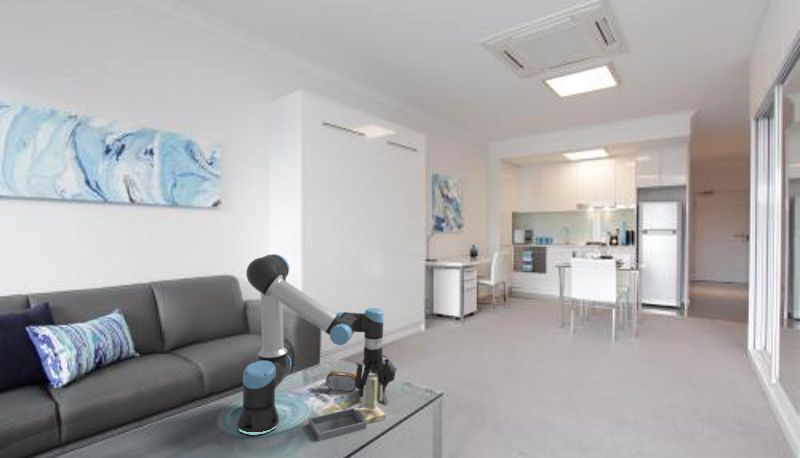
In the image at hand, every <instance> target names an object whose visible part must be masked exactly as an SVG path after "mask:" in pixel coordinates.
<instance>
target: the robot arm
mask: <svg viewBox="0 0 800 458" xmlns="http://www.w3.org/2000/svg"><path fill="white" fill-rule="evenodd" d="M289 272H290V264H289V262H288V260H287V259H286V258H285V257H284V256H282V255H280V254H276V253H275V254H267V255H264V256H262V257H257V258H255V259H254V260H252V261H251V262H250V263H249V264H248V266H247V269H246V279H247V281H248V283H249V284H250V285H251V286H252V287H253V288H254V289H255V290H256V291H258V292H259V293H260V313H261V315H260V316H261V317H260V319H261V320H260V321H261V349H260V351H259V352H258V354H257V355H258V358H257V359H258V361H255V362H251V363H250V364H248V365H247V366H246V367H245V368H244V370H243V376H242V408H241V412H240V415H239V417H238V421H237V429H238V428H239V429H241V430H243V431H246V432H263V431H267V430H270V429H272V428H273V427H275V426H276V425H277V424H278V423H279V424H280V416H279V412H278V410H277V407H276V405H275V400H276V398H275V397H276V395H275V394H276V388H277V387H279V385H280V384H281V383H282V382H283V381H284V380H285V379H286V378H287V377H288V375H289V374H290V373H289V372H290V371H291V368H292V359H291V357H290V355H288V349H287V348H286V347H284V311H283V310H284V309H283V308H284V307H283V305H284V306H286V307H287V308H289V309H290V310H292V311H293V312H294V313H296V314H297V315H299V316H300V317H301V318H303V319H305V320H306V321H308V322H309V323H311V324H312V325H314V327H317V328H319V329H320V330H321V331H323V332H324V333H326V334H327V335H329V338H330V340H331V342H332V343H333V344H335V345H336V346H343V345H345V344H347V343H348V342H349V341H350V340H351V339H352V337H353V334H354V333H364V335H363V336H364V337H363V338H364V339H363V341H364V342H363V345H364V346H363V360H362V361H361V362H358V361H357V362H356V374H355V376H356V379H355V386H356V389H357V390H358V396H359V397H360V404H361V405H362V406H364V405H365V391H366V389H365V383H366V381H367V378H368V375H369V373H371V370H373V369H374V370H376V372H377V374H378V375H379V381H380V383H379V398H378V399H379V400H380V401H382V392H384V386H385V385H386V382H389V376H388V361H389V360H390V359H389V358H388V357H387V358H388V359H389V360H388V359H387V358H382V355H383V343H384V342H383V340H384V337H383V336H384V310H382V309H381V308H378V307H372V308H371V307H368V308H366V309H365V311H364V313H363V312H362V313H360V312H359V313H358V312H347V311H340V312H337V313H334V312H332V311H331V310H329V309H328V308H327V307H325V306H323V305H322V304H321V303H319V302H318V301H316V300H315V299H313V298H311V297H310V296H309V295H307V294H306V293H304V292H303V291H301V290H300V289H299V288H297V287H295V286H294V285H292V284H291V283H290V282H288V281H287V279H286V278H287V277H288V276H289V274H290V273H289ZM381 362H382V363H383V375H382V372H381V368H380V364H381ZM383 377H384V378H383ZM389 383H390V382H389ZM279 424H278V425H279Z"/></svg>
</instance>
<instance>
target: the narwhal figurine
mask: <svg viewBox="0 0 800 458" xmlns="http://www.w3.org/2000/svg"><path fill="white" fill-rule="evenodd" d="M382 358H387V359H388V360H389V361H388V376H389V382H386V385H385V386H384V392H382V401H380V400H379V399H378V404H380V405H384V406H387V405H388V404H389V403H390V402H389V400H388V399H387V397H386V394H385V393H386V389H387V386H388V385H389V383H390V382H393V381H394V380H395V376H396V372H397V370H398V369H397V367H395V366H394V364H393V363H392V362H391V361H390V359H389V358H388V356H387V355H385V354H382ZM380 368H381V372H382V375H383V363H382V362H381V364H380ZM370 373H373V374H377V372H376V370H374V369H373V370H371V371H370ZM383 378H384V377H383ZM379 383H380V381H379Z"/></svg>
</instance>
